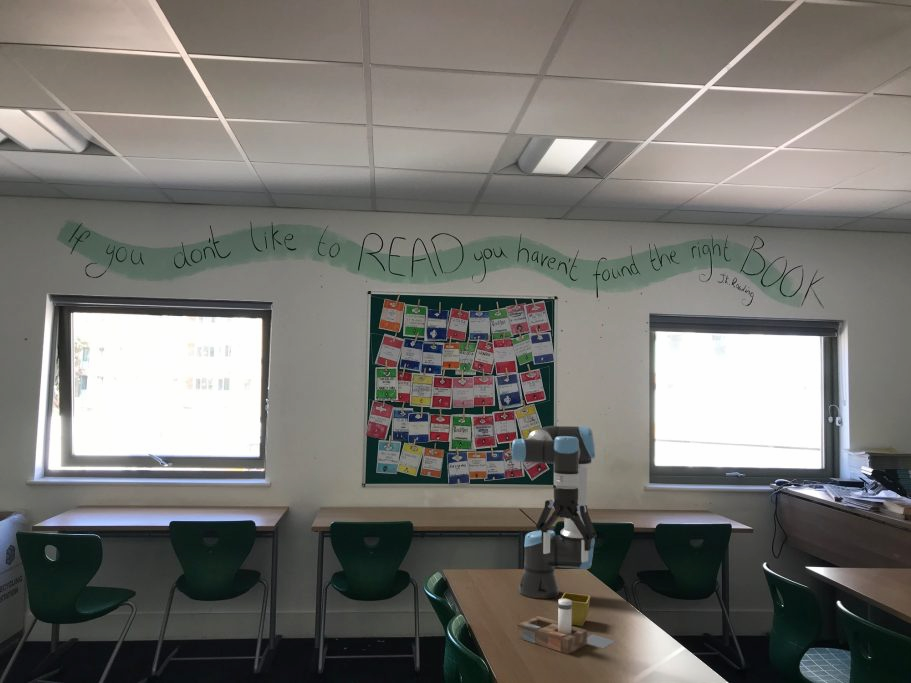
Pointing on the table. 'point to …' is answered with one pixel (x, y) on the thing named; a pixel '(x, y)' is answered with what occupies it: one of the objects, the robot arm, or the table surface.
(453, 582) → the table surface
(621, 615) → the table surface
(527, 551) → the robot arm
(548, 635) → the socket block
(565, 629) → the plug
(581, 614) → the flower pot
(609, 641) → the mat
